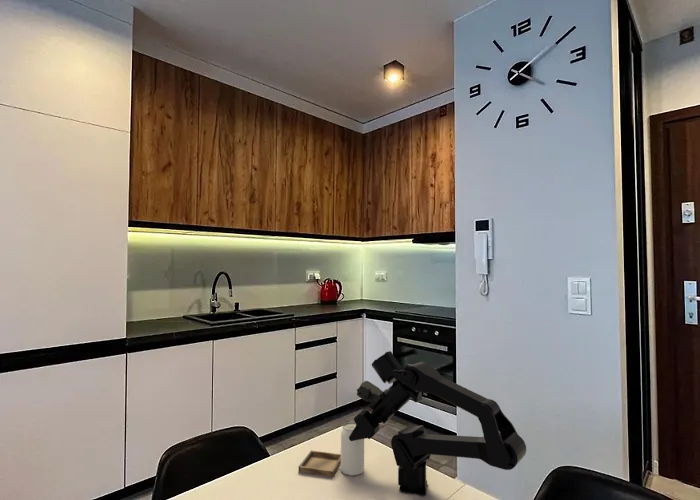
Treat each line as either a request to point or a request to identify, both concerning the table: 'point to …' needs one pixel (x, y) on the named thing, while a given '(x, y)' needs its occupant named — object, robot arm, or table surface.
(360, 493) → the table surface
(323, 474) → the wooden tray
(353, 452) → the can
